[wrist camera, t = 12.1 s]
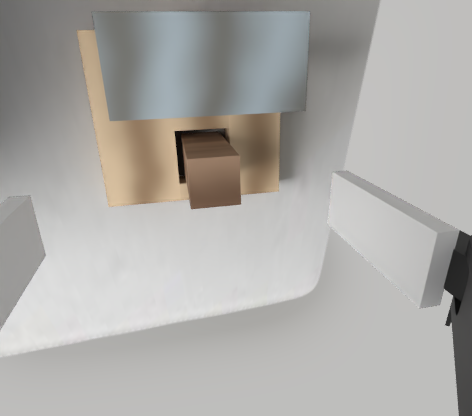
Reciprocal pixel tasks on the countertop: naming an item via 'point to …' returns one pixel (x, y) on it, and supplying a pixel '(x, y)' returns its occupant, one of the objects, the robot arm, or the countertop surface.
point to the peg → (211, 170)
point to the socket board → (156, 145)
